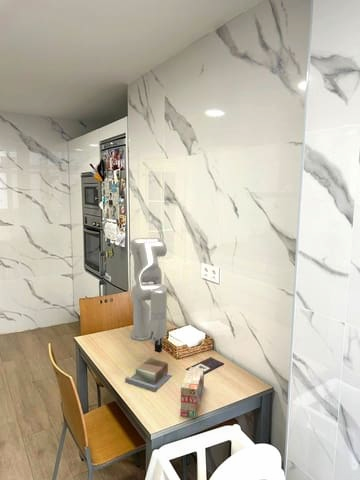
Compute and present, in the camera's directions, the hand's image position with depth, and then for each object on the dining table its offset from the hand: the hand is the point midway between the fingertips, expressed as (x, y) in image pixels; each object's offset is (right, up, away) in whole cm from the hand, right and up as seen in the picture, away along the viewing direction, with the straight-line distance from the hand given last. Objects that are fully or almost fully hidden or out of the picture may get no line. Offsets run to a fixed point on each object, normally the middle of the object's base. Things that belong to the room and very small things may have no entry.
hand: (158, 351), depth 164 cm
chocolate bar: (+23, -10, +6) cm, 26 cm away
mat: (-3, -11, -5) cm, 12 cm away
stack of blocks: (+16, -14, -22) cm, 30 cm away
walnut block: (0, -7, +2) cm, 7 cm away
